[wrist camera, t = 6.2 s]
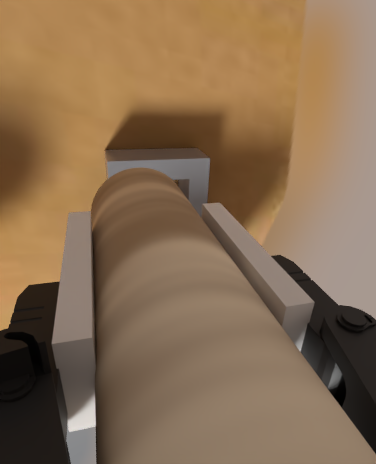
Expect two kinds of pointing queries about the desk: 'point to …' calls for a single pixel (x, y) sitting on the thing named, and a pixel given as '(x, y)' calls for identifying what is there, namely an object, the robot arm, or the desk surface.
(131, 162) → the socket
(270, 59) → the desk surface
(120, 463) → the peg
